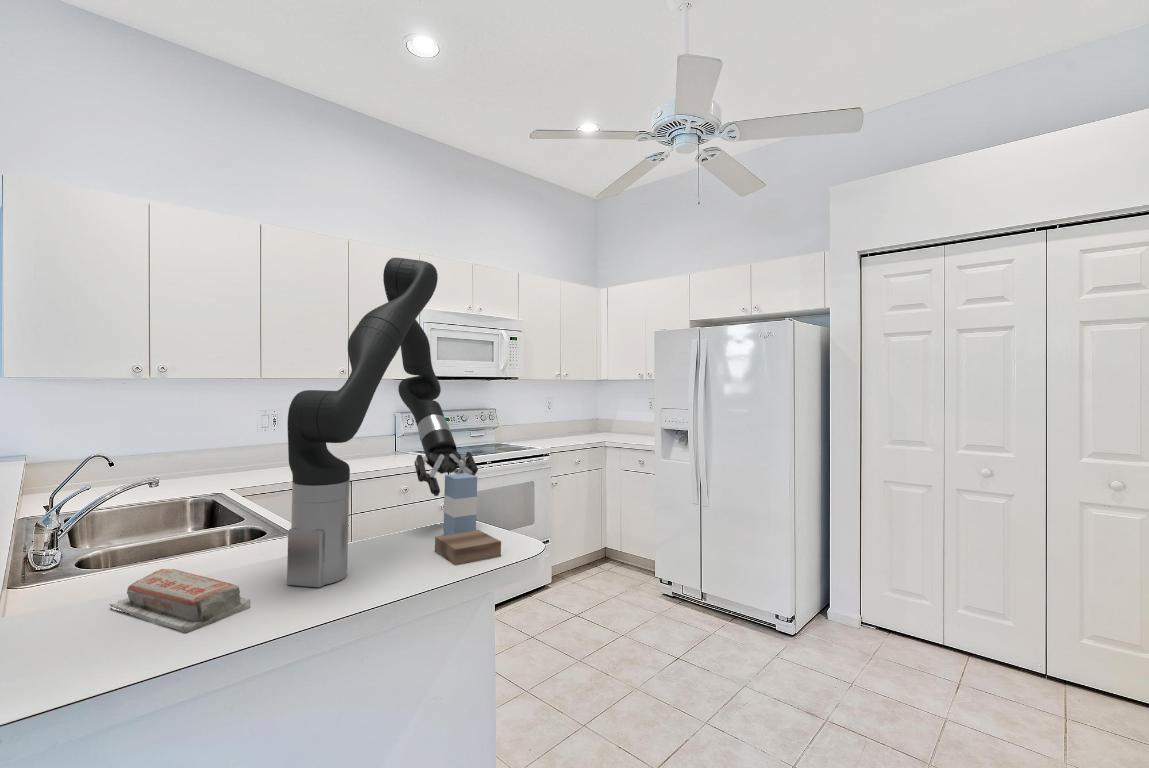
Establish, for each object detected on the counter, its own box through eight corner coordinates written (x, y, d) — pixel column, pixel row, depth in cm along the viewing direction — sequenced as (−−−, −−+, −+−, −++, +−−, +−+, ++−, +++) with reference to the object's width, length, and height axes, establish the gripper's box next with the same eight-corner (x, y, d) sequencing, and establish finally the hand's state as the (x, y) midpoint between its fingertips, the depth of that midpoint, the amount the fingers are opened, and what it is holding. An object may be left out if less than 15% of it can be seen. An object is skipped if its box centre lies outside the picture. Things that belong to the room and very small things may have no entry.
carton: (476, 538, 123) (477, 476, 122) (453, 542, 119) (455, 478, 119) (465, 532, 127) (466, 473, 127) (443, 536, 124) (444, 475, 124)
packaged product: (254, 578, 84) (187, 602, 75) (253, 609, 84) (186, 637, 75) (179, 560, 91) (109, 580, 82) (178, 589, 91) (108, 612, 82)
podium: (500, 556, 111) (501, 541, 111) (455, 565, 105) (455, 549, 105) (478, 543, 119) (478, 529, 119) (434, 551, 113) (435, 536, 113)
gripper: (412, 428, 128) (430, 485, 119) (467, 426, 136) (488, 479, 127) (403, 448, 132) (420, 505, 123) (458, 445, 141) (477, 498, 132)
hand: (455, 492), depth 125 cm, fingers open, 8 cm apart
